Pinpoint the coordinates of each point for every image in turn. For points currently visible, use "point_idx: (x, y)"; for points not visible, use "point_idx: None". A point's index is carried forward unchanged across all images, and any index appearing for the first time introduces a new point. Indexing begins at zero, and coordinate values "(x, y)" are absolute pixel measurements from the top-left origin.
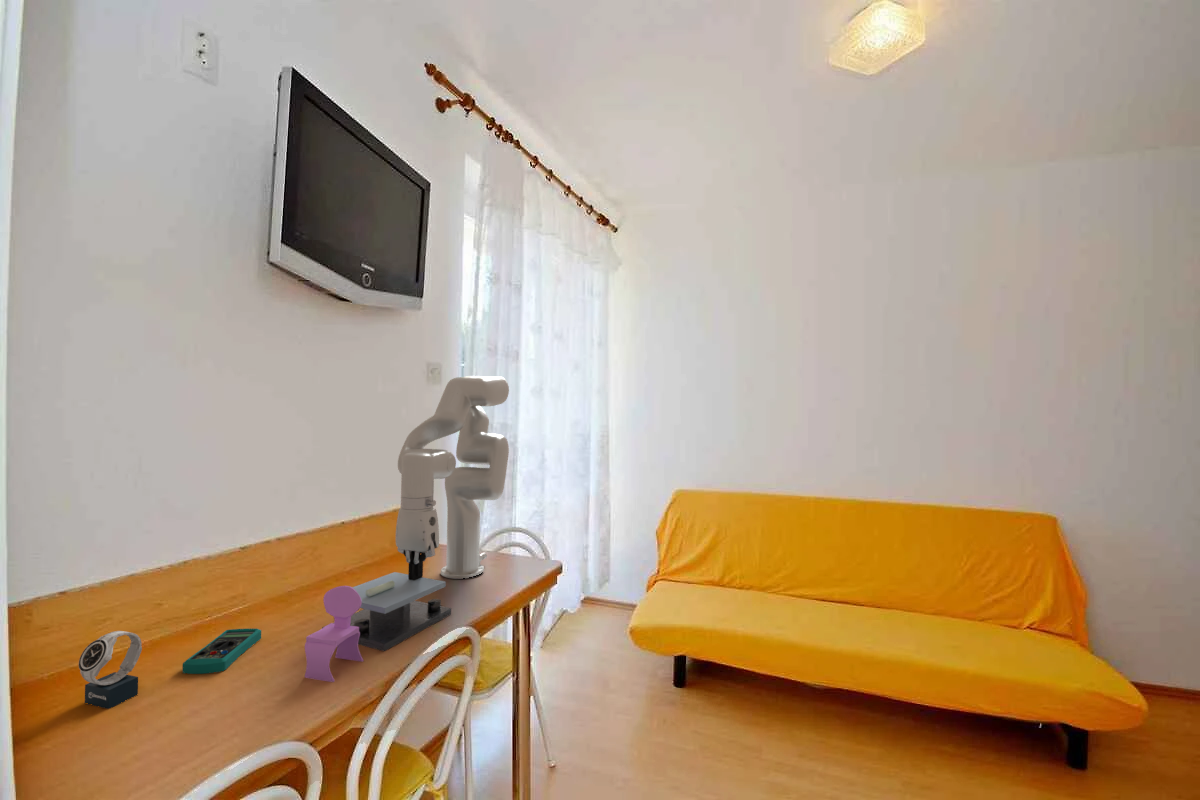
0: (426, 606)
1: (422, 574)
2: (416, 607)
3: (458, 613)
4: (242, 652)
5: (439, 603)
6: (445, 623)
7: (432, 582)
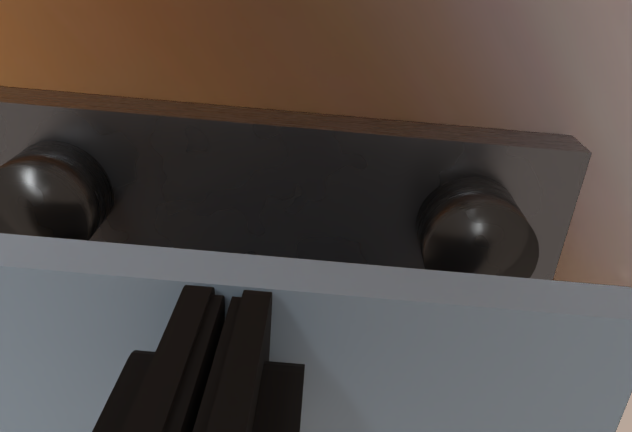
0: (369, 193)
1: (268, 306)
2: (306, 233)
3: (624, 95)
4: None
5: (535, 257)
6: (597, 272)
7: (512, 394)
